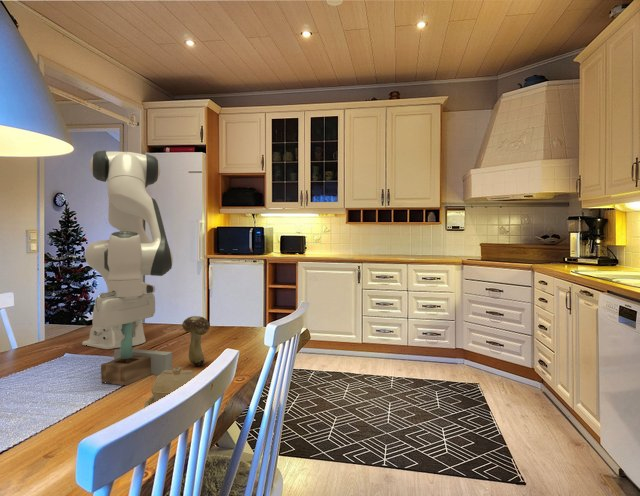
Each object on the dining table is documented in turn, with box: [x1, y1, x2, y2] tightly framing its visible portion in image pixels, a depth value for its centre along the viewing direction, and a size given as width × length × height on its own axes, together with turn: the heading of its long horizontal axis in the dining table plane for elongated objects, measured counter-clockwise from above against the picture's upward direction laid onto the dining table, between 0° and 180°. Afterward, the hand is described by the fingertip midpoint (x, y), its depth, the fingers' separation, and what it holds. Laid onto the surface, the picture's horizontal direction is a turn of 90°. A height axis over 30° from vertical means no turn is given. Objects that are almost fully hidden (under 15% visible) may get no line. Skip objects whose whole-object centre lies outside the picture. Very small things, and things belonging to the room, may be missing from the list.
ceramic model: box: [144, 366, 197, 408], centre depth 94 cm, size 14×11×10 cm
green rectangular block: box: [120, 322, 133, 359], centre depth 116 cm, size 3×3×10 cm
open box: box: [100, 355, 152, 386], centre depth 116 cm, size 8×10×5 cm
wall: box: [113, 347, 173, 376], centre depth 122 cm, size 18×3×6 cm, turn 73°
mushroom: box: [181, 315, 211, 367], centre depth 128 cm, size 9×9×15 cm
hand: (126, 339), depth 116 cm, fingers closed on green rectangular block, 3 cm apart
